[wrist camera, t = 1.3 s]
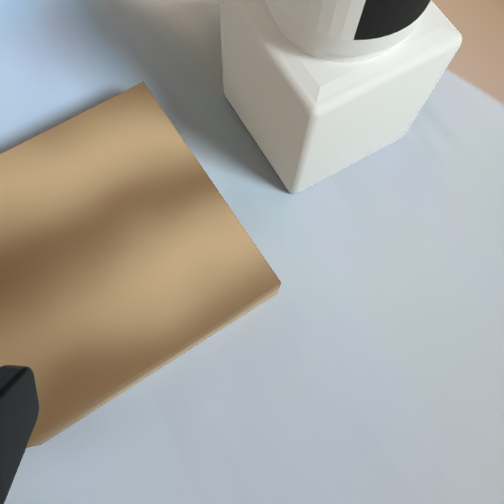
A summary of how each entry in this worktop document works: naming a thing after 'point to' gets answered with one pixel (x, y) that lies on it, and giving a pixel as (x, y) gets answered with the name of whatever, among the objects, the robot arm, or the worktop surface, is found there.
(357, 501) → the worktop surface
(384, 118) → the medicine bottle
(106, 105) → the tan flat square slab
